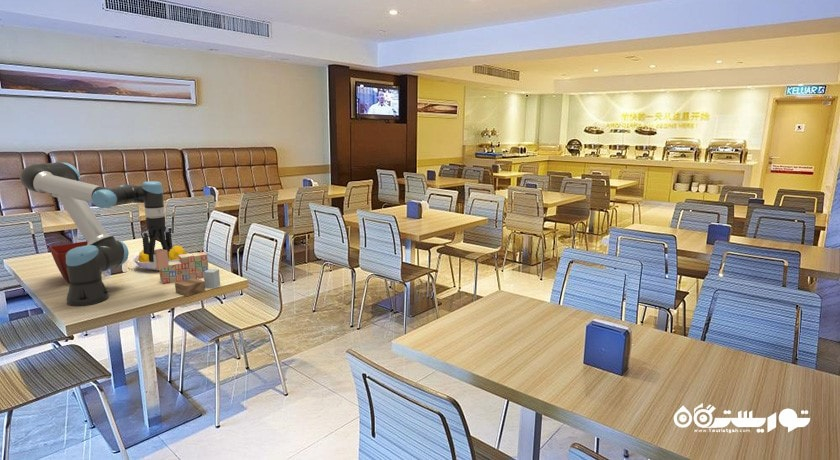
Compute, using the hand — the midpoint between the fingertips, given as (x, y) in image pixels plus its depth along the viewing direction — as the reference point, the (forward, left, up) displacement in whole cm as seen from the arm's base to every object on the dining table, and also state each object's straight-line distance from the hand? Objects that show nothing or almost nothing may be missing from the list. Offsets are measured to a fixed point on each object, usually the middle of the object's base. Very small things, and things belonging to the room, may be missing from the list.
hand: (159, 266), depth 213 cm
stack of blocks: (+20, +10, -13) cm, 26 cm away
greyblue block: (+18, -11, -13) cm, 25 cm away
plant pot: (-4, +55, -13) cm, 56 cm away
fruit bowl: (+30, +40, -13) cm, 52 cm away
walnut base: (+8, -8, -13) cm, 18 cm away
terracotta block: (0, 0, 0) cm, 0 cm away
